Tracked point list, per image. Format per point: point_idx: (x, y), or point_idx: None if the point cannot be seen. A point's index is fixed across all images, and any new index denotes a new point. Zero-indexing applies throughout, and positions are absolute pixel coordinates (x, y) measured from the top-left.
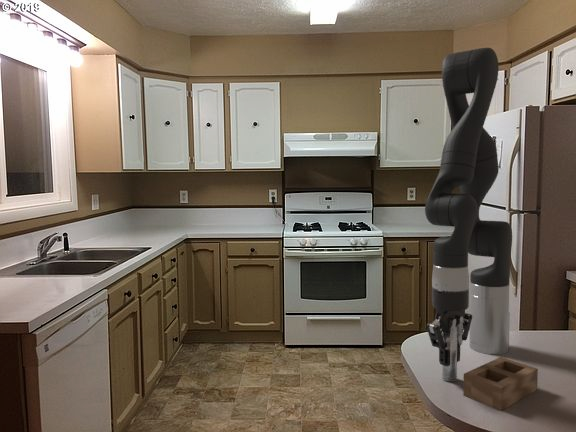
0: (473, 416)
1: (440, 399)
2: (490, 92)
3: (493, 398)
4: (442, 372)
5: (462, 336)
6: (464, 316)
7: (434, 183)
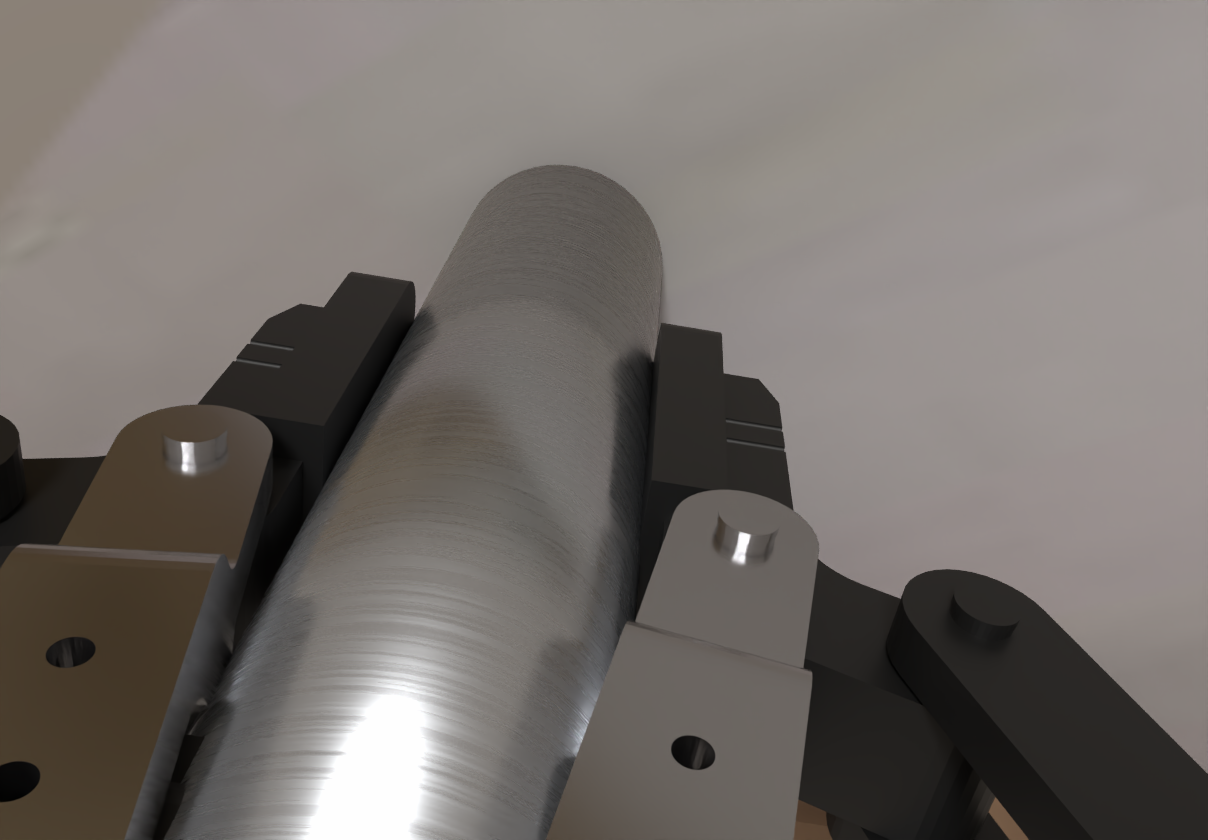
0: None
1: (17, 391)
2: None
3: None
4: (495, 204)
5: (850, 821)
6: None
7: None
